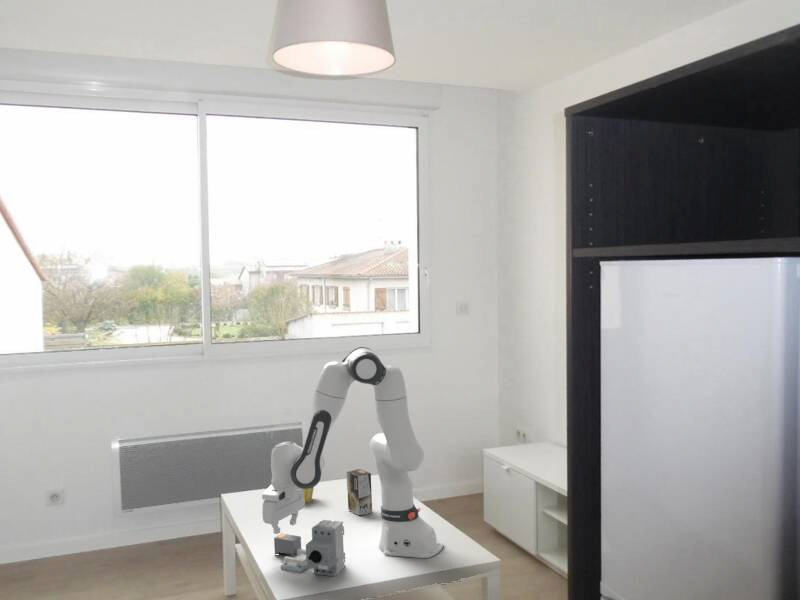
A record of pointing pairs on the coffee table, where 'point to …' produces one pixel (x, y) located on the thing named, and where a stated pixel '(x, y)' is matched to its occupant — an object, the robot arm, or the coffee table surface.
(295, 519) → the robot arm
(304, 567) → the panel
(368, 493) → the coffee box
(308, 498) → the plant pot
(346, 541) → the coffee table surface
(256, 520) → the coffee table surface
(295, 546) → the module
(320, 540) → the circuit breaker
